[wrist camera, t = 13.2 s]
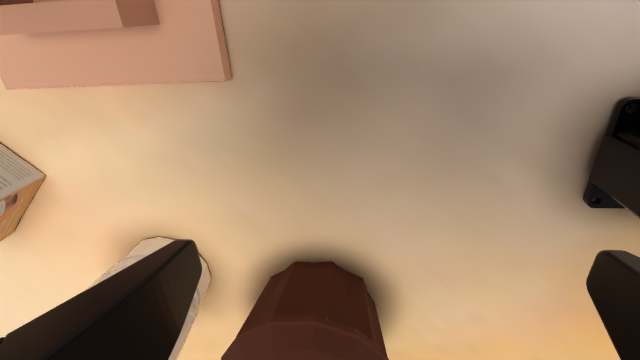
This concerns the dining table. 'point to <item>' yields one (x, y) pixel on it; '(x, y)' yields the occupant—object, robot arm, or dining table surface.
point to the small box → (15, 189)
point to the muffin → (311, 318)
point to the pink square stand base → (110, 42)
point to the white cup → (156, 243)
